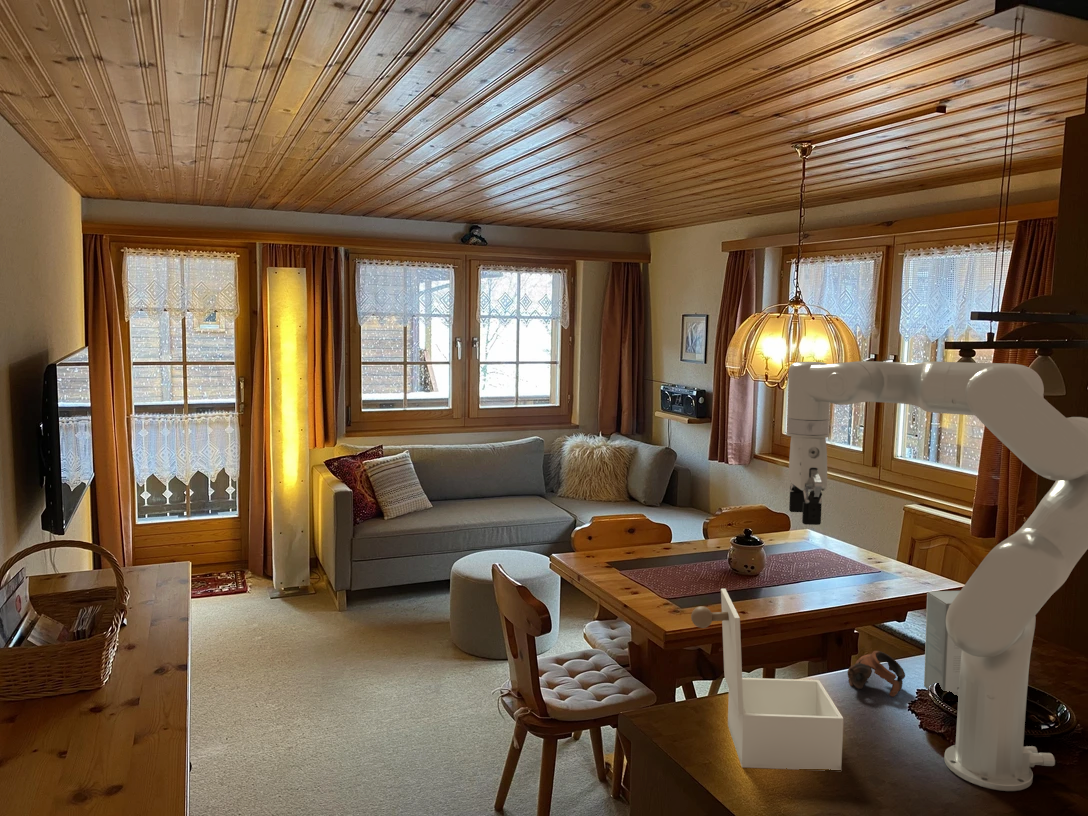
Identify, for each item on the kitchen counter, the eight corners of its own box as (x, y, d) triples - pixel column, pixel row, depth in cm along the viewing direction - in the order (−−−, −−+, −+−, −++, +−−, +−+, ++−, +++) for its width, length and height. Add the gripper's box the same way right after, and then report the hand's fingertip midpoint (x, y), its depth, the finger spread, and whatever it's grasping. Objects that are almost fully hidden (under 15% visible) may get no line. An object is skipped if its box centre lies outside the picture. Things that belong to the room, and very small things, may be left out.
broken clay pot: (862, 674, 166) (886, 646, 163) (894, 711, 158) (919, 682, 155) (826, 673, 159) (849, 643, 156) (857, 711, 152) (883, 681, 149)
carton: (817, 727, 142) (819, 680, 141) (841, 771, 128) (843, 718, 128) (727, 724, 143) (729, 677, 142) (741, 767, 130) (743, 715, 129)
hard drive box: (996, 684, 160) (1002, 589, 158) (1020, 702, 152) (1027, 602, 150) (921, 685, 160) (926, 589, 158) (941, 703, 152) (947, 603, 150)
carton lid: (725, 588, 141) (686, 590, 142) (739, 617, 127) (695, 619, 127) (728, 676, 143) (689, 677, 143) (743, 715, 128) (700, 716, 129)
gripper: (842, 434, 138) (838, 529, 140) (815, 422, 155) (812, 507, 157) (798, 434, 139) (795, 529, 140) (776, 422, 156) (773, 507, 158)
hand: (804, 517), depth 149 cm, fingers open, 9 cm apart
